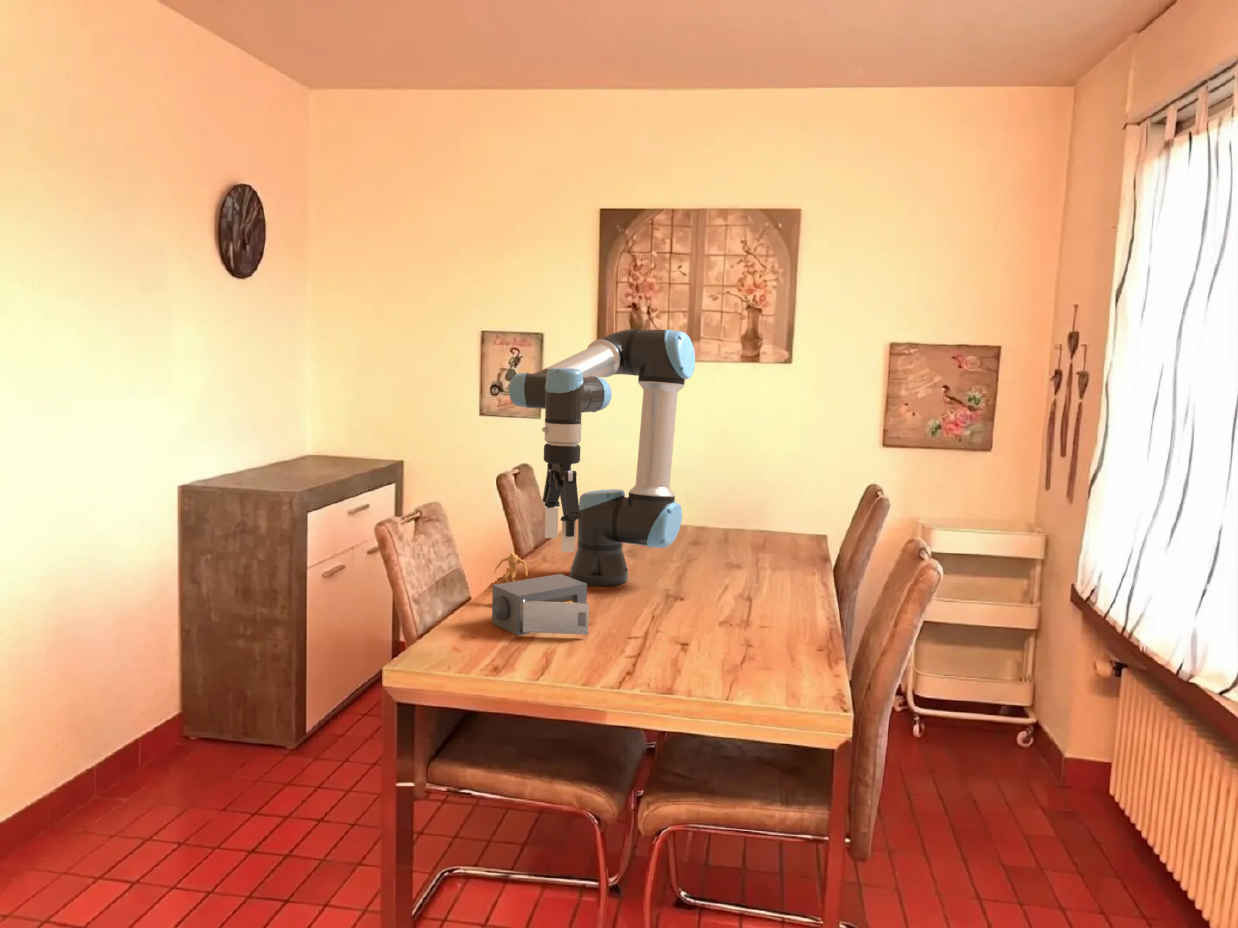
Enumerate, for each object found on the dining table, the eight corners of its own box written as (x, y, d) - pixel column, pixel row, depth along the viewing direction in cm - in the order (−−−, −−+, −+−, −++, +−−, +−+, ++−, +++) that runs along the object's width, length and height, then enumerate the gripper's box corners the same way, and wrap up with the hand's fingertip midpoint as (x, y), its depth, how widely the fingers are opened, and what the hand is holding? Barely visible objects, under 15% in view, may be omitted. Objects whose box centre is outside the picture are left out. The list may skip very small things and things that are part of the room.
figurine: (487, 605, 215) (488, 554, 213) (498, 598, 221) (499, 549, 219) (520, 609, 213) (521, 558, 211) (531, 603, 218) (532, 552, 217)
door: (587, 634, 195) (589, 601, 194) (587, 637, 193) (588, 603, 192) (519, 632, 195) (520, 598, 194) (518, 634, 193) (519, 601, 192)
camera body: (559, 610, 213) (560, 573, 212) (586, 621, 206) (587, 583, 205) (487, 624, 201) (488, 585, 200) (513, 636, 194) (514, 596, 193)
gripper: (530, 436, 202) (528, 532, 205) (560, 451, 179) (557, 559, 182) (563, 436, 205) (560, 531, 208) (597, 450, 181) (594, 557, 184)
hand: (559, 544), depth 195 cm, fingers open, 13 cm apart
